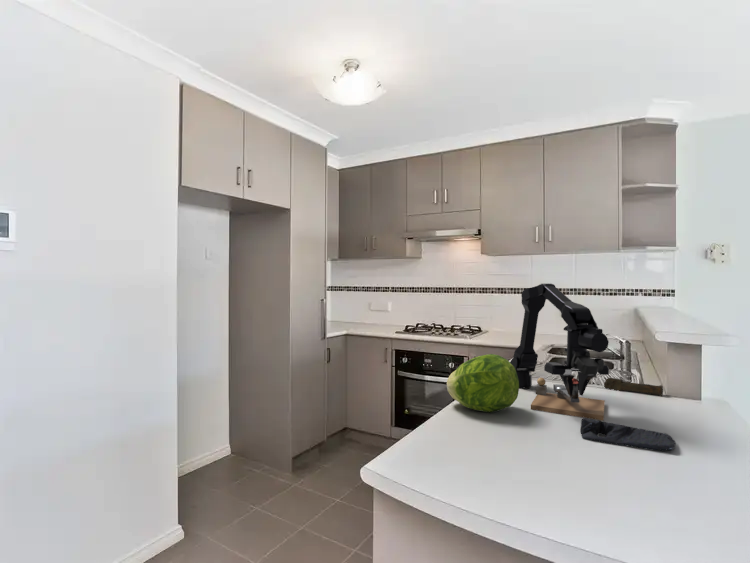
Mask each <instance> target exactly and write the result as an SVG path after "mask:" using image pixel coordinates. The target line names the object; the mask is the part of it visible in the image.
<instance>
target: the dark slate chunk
mask: <svg viewBox="0 0 750 563" xmlns="http://www.w3.org/2000/svg"><path fill="white" fill-rule="evenodd" d="M580 424H581V425H580V435H581V438H582V439H583V440H586V441H587V440H588V441H594V442H599V441H600V443H604V442H605V443H606V444H611V443H612V445H617V444H618V445H617V446H626V445H628V446H627V447H631V446H633V447H632V448H637V447H638V449H644V448H647V450H650V449H653V450H652V451H662V450H663V451H665V452H666V451H672V450H674V448H675V447H676V441H675V440H674V438H673V437H672V436H671V435H669V434H668V433H665V432H659V431H654V430H649V429H644V428H637V427H633V426H628V425H625V424H618V423H615V422H608V421H602V420H596V419H590V418H583V417H582V418H581V421H580ZM599 435H604V436H599Z"/></svg>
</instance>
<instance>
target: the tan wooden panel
mask: <svg viewBox="0 0 750 563" xmlns="http://www.w3.org/2000/svg"><path fill="white" fill-rule="evenodd" d="M547 388H548V387H547V384H546V379H545V378H543V377H538V379H537V380H536V385H535V397H534V399H533V400H532V402H531V403H530V410H534V411H539V412H546V413H553V414H558V415H564V416H565V415H566V416H570V417H571V416H573V417H576V418H578V417H579V418H582V419H583V418H588V419H594V420H598V421H603V422H605V421H604V418H605V405H606V404H605V403H606V399H596V398H590V397H581V396H579V403H578V402H570V401H569V400H568V399H567V398H565V397H564V396H563V395H562V394H561V393H558V392H556V393H554V392H552V393H551V392H548V390H547Z"/></svg>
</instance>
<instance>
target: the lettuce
mask: <svg viewBox="0 0 750 563" xmlns="http://www.w3.org/2000/svg"><path fill="white" fill-rule="evenodd" d="M446 390H447V393H448V394H449V395H450V396H451V398H452V399H453V400H455V401H456V402H457V403H459V404H460V405H461V406H464V407H466V408H468V409H470V410H473V411H476V412H477V411H478V412H484V413H497V412H500V411H502V410H504V409H507V408H508V407H511V406H512V405H513V404H514V403H515V401H516V400H517V399H518V396H519V391H520V388H519V380H518V376H517V373H516V370H515V368H514V366H513V365H512V364H511V363H510V361H509V360H508V359H506V358H505V357H504V356H501V355H499V354H493V353H490V354H489V353H487V354H484V355H479V356H475V357H473V358H471V359H468V360H467V361H465V362H463V363H461V364H460V365H459V366H458V367H457V368H456V369H455V370H454V371H452V372H451V373H450V375H449V376H448V378H447V379H446Z"/></svg>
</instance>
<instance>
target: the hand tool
mask: <svg viewBox="0 0 750 563" xmlns="http://www.w3.org/2000/svg"><path fill="white" fill-rule="evenodd" d="M604 387H605V388H604ZM603 388H604V389H607V388H609V389H608V390H611V389H614V390H613V391H617V390H619V391H618V392H622V391H625V392H626V391H628V392H633V393H641V394H647V395H652V396H659V397H663V394H664V387H663V385H662V384H661V385H652V384H648V383H638V382H637V383H636V382H630V381H626V380H625V381H623V379H621V378H615V377H608V378H606V379H605V381H604V383H603Z"/></svg>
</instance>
